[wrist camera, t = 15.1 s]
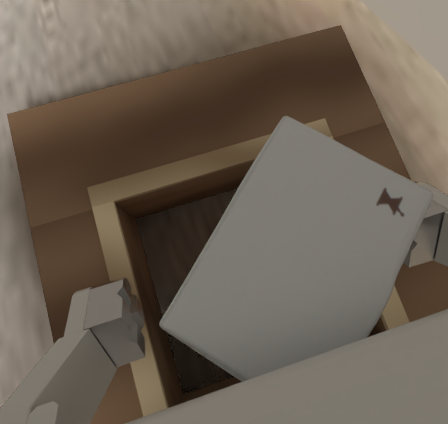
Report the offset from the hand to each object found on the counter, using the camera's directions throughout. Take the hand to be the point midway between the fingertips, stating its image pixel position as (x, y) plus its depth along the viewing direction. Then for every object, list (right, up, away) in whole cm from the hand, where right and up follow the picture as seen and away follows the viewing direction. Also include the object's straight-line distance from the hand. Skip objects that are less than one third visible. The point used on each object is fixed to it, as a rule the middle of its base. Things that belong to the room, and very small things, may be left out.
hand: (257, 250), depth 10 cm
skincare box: (+1, -2, +9) cm, 9 cm away
